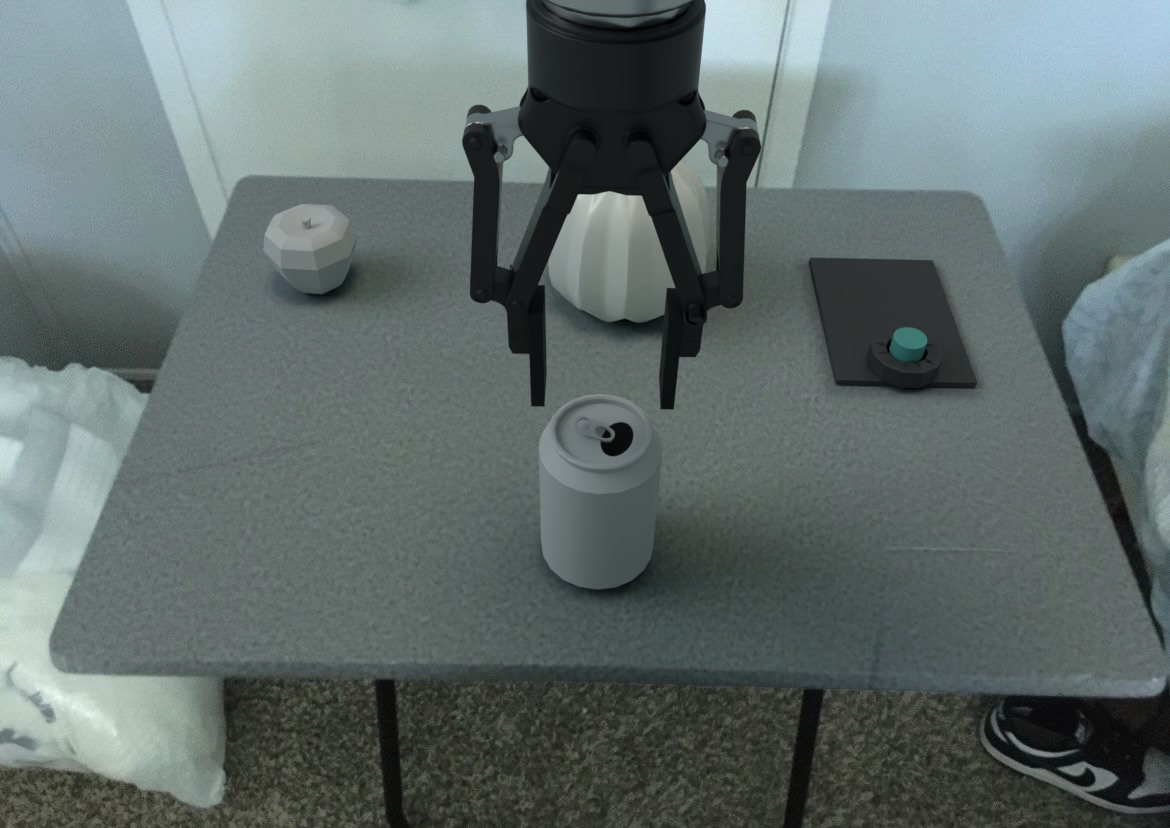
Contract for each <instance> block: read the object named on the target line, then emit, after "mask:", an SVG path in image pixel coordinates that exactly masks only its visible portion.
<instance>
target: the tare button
mask: <svg viewBox="0 0 1170 828" xmlns="http://www.w3.org/2000/svg"><path fill="white" fill-rule="evenodd" d="M926 345H927V337H926V335H925V334H924V333H923V332H921V331H920V330H918V329H915V328H911V327H903V328H899V329H897V330H896V331H895V332H894V335H893V338H892V341H891V345H890V348H889V351H890V354H891V355H892V356H893V357H894V358H895V359H897V360H900V361H902V362H905V363H916V362H918V361H920V360H921V359H922V357H923V354H924V351H925V348H926Z"/></svg>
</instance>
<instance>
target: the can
mask: <svg viewBox="0 0 1170 828" xmlns="http://www.w3.org/2000/svg"><path fill="white" fill-rule="evenodd" d="M663 449H664V448H663V444H662V440H661V436H660V434H659V432H658V430H657V429H656V428H655V427H654V425H653V423H652V420H651V418H650V417H649V415H648V414H647V413H646V411H645V410H644V409H643V408H642V407H641V406H639V405H637V404H636V403H635V402H633V401H632V400H630V399H627V398H624V397H622V396H619V395H612V394H605V393H597V394H587V395H586V394H585V395H582V396H580V397H576V398H573V399H571V400H569V401H567V402H566V403H565V404H563V405H562V406H560V407H559V408H558V409H557V410H556V412H554V414H553V415H552V417H551V420H550V421H549V423H548V424H547V425H546V427H545V428H544V429H543V431H542V432H541V435H540V439H539V443H538V471H539V472H538V474H539V476H538V478H539V510H540V511H539V512H540V517H539V518H540V543H541V550H542V551H541V552H542V557H543V558H544V560H545V562H546V564H547V566H548V567H549V569H550V570H551V571H553V572H554V573H555V575H557V576H558V577H559V578H560V579H562V580H563V581H564V582H567V583H570V584H572V585H573V586H574V585H575V586H576V587H579V588H583V589H584V588H585V589H592V590H605V589H614V588H618V587H620V586H622V585H625V584H628V583H629V582H631V581H633V580H635V578H637V577H638V576H639V575H640V574H641V573H642V572H644V571H645V569H646V567H647V566H648V564H649V562H650V561H651V559H652V557H653V556H652V555H653V550H654V549H653V548H654V541H655V532H656V531H655V530H656V521H657V510H658V501H659V489H660V480H661V471H662V461H663V459H662V458H663Z"/></svg>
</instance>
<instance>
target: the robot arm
mask: <svg viewBox="0 0 1170 828" xmlns="http://www.w3.org/2000/svg"><path fill="white" fill-rule="evenodd" d="M706 13H707V4H706V0H525V15H526V16H525V17H526V51H527V53H526V54H527V55H526V56H527V87H526V89H525V92H524V93H523V95H522V96H521V98H520V101H519V105H518V106H514V107H509V108H505V109H501V110H496V111H492V110H491V109H490V108H489V107H488V106H486V105H483V104H474V105H473V106H471V107H470V108H469V109H468V110H467V114H466V119H465V124H464V129H463V134H462V139H461V143H462V145H461V146H462V148H463V151H464V154H465V157H466V159H467V162H468V165H469V167H470V170H471V172H472V175H473V193H472V194H473V195H472V196H473V197H472V219H471V221H472V223H471V225H472V226H471V245H470V247H471V248H470V249H471V250H470V272H469V274H470V275H469V296H470V298H471V300H472V301H474V302H475V303H477V304H487V303H489V302H491V301H492V302H496V303H497V304H499V305H501V306H502V307H504V309H505V312H506V322H507V324H506V325H507V342H508V348H509V350H510V352H511V354H513V355H514V354H515V355H528V357H529V384H530V385H529V386H530V406H531V407H538V408H539V407H540V408H542V407H545V405H546V404H545V403H546V390H547V389H546V388H547V373H548V372H547V371H548V369H547V319H546V317H547V316H546V315H547V314H546V284H539V283H540V281H541V278H542V276H543V274H544V271H545V269H546V267H547V265H548V260H549V257H550V255H551V253H552V250H553V248H554V245H555V243H556V241H557V238H558V236H559V233H560V231H561V229H562V226H563V224H564V222H565V219H566V217H567V215H568V214H570V212H571V210H572V208H573V205H574V203H575V201H576V198H577V196H578V194H584V195H594V194H599V193H604V192H609V191H611V192H615V193H619V194H623V195H630V196H642V198H643V200H644V203H645V206H646V209H647V212H648V215H649V216H651V218H652V221H653V224H654V227H655V230H656V233H657V236H658V239H659V242H660V245H661V247H662V250H663V253H664V256H665V259H666V262H667V265H668V268H669V271H670V274H671V277H672V280H673V282H674V285H675V288H667V290H666V302H665V313H664V315H663V316H664V317H663V324H662V325H663V326H662V337H661V347H660V360H659V373H658V386H659V407H660V410H671V411H672V410H675V402H676V394H677V393H676V391H677V384H678V383H677V382H678V374H679V373H678V372H679V364H680V358H696V357H697V356H698V354H699V353H700V351H701V347H702V346H701V345H702V339H703V337H702V336H703V329H704V324H706V323H707V321H708V311H710V309H712V308H716V307H719V306H721V307H723V308H725V309H736V308H737V307H739V306H740V305H741V304H742V303H743V300H744V279H745V276H744V275H745V251H746V249H745V247H746V246H745V245H746V219H747V218H746V215H747V184H748V183H747V182H748V181H749V179H750V176H751V174H752V172H753V169H754V167H755V165H756V163H757V161H758V158H759V156H760V154H761V150H762V144H761V139H760V132H759V126H758V122H757V119H756V115H755V114H754V113H753V111H751V110H749V109H741V110H737V111H735V112H734V113H733V114H732V116H730V115H726V114H722V113H718V112H714V111H711V110H708V109H706V106H705V103H704V100H703V98H702V97H701V95H700V92H699V83H700V74H701V65H702V54H703V44H704V34H705V24H706ZM521 137H524V139H525V140H526V141H527V142H528V143H529V145H530V146H531V147H532V149H533V150H534V151H535V152H536V153H537V154H538V155H539V157H540V158H541V160H543V162H544V163H545V164H546V165H547V166H548V169H547V173H546V177H545V180H544V182H543V186H542V187H541V190H540V193H539V196H538V198H537V201H536V203H535V206H534V208H533V211H532V213H531V216H530V219H529V222H528V224H527V227H526V229H525V231H524V233H523V236H522V239H521V241H520V244H519V247H518V250H517V252H516V255H515V257H514V260H513V263H512V264H510V265H509V268H506V267H502V266H499V265H498V257H499V240H500V224H501V209H502V207H501V206H502V194H503V193H502V191H503V175H504V162H505V161H508V160H510V159H511V157H512V156H513V154H514V149H515V142H516V140H517V139H518V138H521ZM700 140H702V141H703V142H705V143H706V144H707V151H708V158H709V160H710V162H711V163H712V164H713V165H716V205H715V206H716V209H715V213H716V215H715V217H716V219H715V270H711V271H708V272H705V273H703V274H702V271H701V268H700V265H699V262H698V259H697V256H696V252H695V249H694V246H693V243H692V240H691V237H690V233H689V230H688V227H687V224H686V221H685V218H684V214H683V211H682V208H681V205H680V202H679V199H678V196H677V192H676V189H675V186H674V183H673V179H672V174H671V170H672V169H673V168H674V167H675V166H676V165H677V164H678V163H679V162H680V161H681V159H682V158H683V159H684V158H685V156H686V155H687V154H689V152H690V151H691V150H692V148H694V147H695V146H696V145H697V143H698V142H699V141H700Z"/></svg>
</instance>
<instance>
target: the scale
mask: <svg viewBox="0 0 1170 828" xmlns="http://www.w3.org/2000/svg"><path fill="white" fill-rule="evenodd" d="M808 263H809V264H808V265H809V269H810V274H811V277H812V283H813V287H814V288H813V289H814V292H815V295H816V300H817V305H818V309H819V314H820V315H819V316H820V319H821V323H822V328H823V332H824V337H825V341H826V346H827V350H828V354H829V359H830V365H831V368H832V373H833V377H834V382H835V385H836V386H864V387H865V386H870V387H899V388H909V389H910V388H912V389H913V388H914V389H915V388H916V389H917V388H956V389H957V388H958V389H959V388H960V389H961V388H962V389H963V388H964V389H965V388H966V389H976V387H977V385H978V381H977V378H976V375H975V373H974V370H973V367H972V364H971V362H970V359H969V356H968V354H967V351H966V348H965V346H964V343H963V339H962V336H961V335H960V331H959V328H958V326H957V323H956V321H955V317H954V315H953V313H952V310H951V307H950V303H949V301H948V299H947V295H946V293H945V289H944V288H943V284H942V282H941V279H940V276H939V274H938V270H937V268H936V265H935V262H934V260H933V259H899V258H898V259H897V258H896V259H895V258H894V259H893V258H851V257H850V258H849V257H809V259H808ZM903 327H911V328H915V329H918V330H920V331H921V332H923V333H924V334H925V335H926V337H927V345H926V348H925V351H924V354H923V357H922V359H921V360H920V361H918V362H916V363H905V362H902V361H900V360H897V359H895V358H894V357H893V356H892V355H891V354H890V351H889V348H890V345H891V341H892V338H893V335H894V332H895V331H896V330H897V329H899V328H903Z"/></svg>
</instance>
